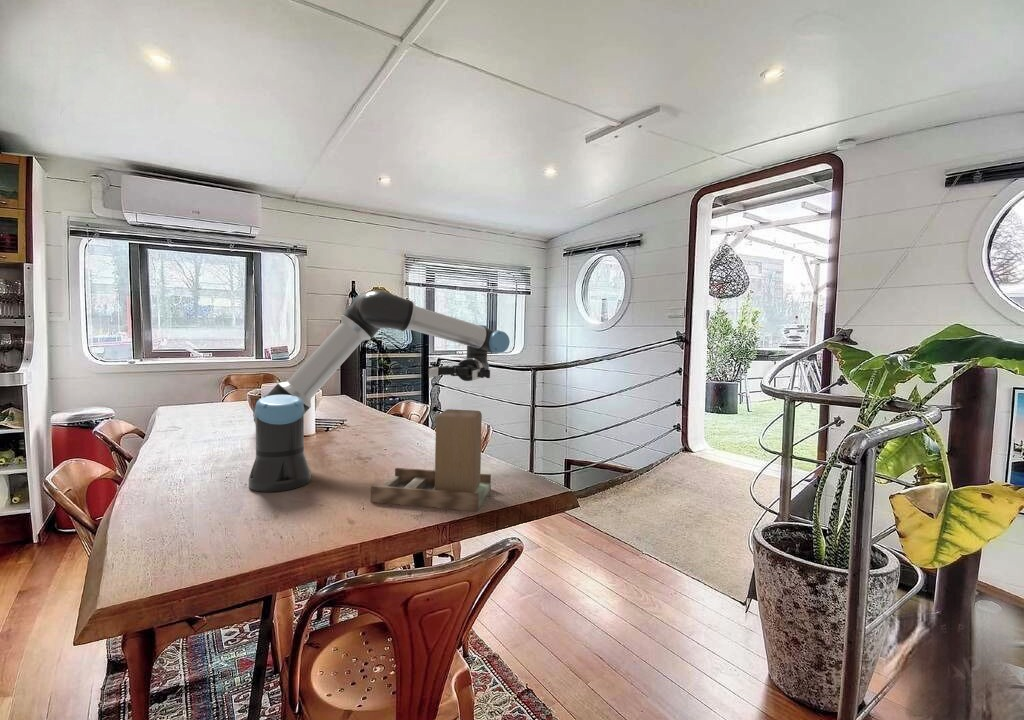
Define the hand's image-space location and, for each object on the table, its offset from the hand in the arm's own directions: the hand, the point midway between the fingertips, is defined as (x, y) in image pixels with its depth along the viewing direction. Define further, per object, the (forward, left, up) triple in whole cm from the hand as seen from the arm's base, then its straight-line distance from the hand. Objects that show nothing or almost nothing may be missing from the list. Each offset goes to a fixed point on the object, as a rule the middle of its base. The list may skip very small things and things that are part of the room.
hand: (451, 374), depth 138 cm
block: (+8, -21, -28) cm, 36 cm away
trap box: (+2, -21, -30) cm, 36 cm away
